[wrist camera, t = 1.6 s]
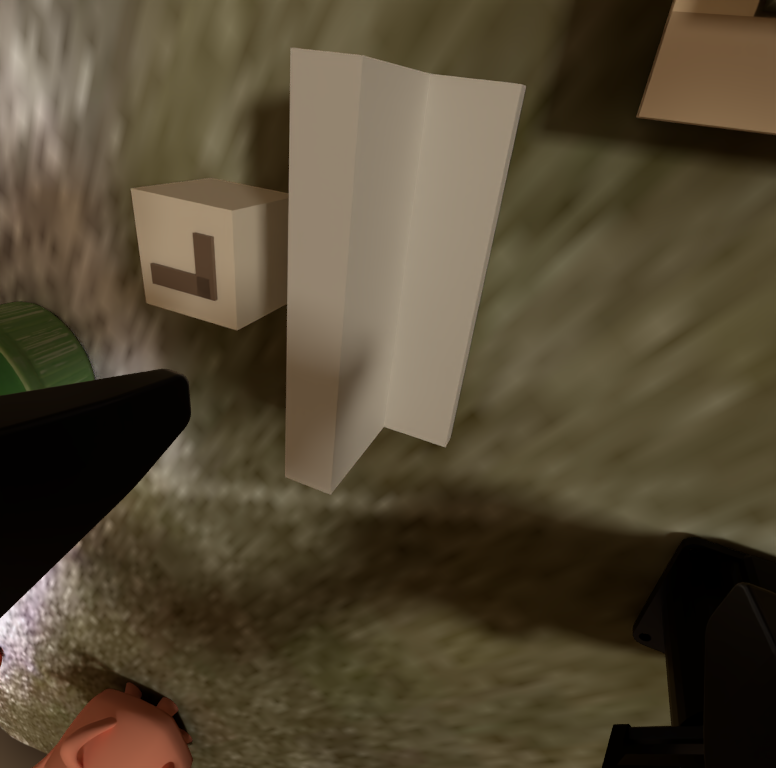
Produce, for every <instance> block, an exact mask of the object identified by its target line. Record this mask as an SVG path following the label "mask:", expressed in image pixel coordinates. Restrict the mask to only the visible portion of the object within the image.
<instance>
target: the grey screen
mask: <svg viewBox="0 0 776 768" xmlns="http://www.w3.org/2000/svg"><path fill="white" fill-rule="evenodd" d="M525 89H526V86H525V85H523V84H515V83H506V82H497V81H489V80H480V79H471V78H462V77H454V76H445V75H436V74H429V73H425V72H422V71H418V70H414V69H411V68H407V67H403V66H400V65H396V64H392V63H389V62H385V61H381V60H378V59H374V58H370V57H367V56H363V55H354V54H345V53H336V52H327V51H317V50H308V49H299V48H291V58H290V136H289V213H288V290H287V367H286V444H285V477H286V478H289V479H292V480H294V481H297V482H299V483H302V484H304V485H307V486H310V487H312V488H315V489H317V490H320V491H323V492H325V493H328V494H330V495H331V493H332V492H333V491H334V490H335V488H336V487H337V486H338V484H339V483H340V482H341V481H342V479H343V478H344V477H345V476H346V474H347V473H348V472H349V470H350V469H351V468H352V467H353V465H354V464H355V463H356V462H357V460H358V459H359V458H360V456H361V455H362V454H363V453H364V451H365V450H366V449H367V448H368V446H369V445H370V444H371V442H372V441H373V440H374V439H375V437H376V436H377V435H378V433H379V432H380V431H381V430H382V428H383V427H386V428H389V429H392V430H395V431H398V432H401V433H404V434H407V435H410V436H413V437H416V438H419V439H422V440H425V441H428V442H431V443H434V444H437V445H440V446H443V447H446V445H447V443H448V441H449V439H450V437H451V432H452V428H453V423H454V419H455V414H456V409H457V405H458V400H459V395H460V391H461V386H462V381H463V377H464V372H465V367H466V363H467V358H468V353H469V349H470V344H471V340H472V335H473V330H474V326H475V321H476V316H477V312H478V307H479V302H480V298H481V293H482V288H483V284H484V279H485V274H486V270H487V265H488V261H489V256H490V251H491V247H492V242H493V237H494V233H495V228H496V223H497V219H498V214H499V209H500V205H501V200H502V196H503V191H504V186H505V182H506V177H507V172H508V168H509V163H510V158H511V154H512V149H513V144H514V140H515V135H516V130H517V126H518V121H519V117H520V112H521V107H522V103H523V98H524V93H525Z"/></svg>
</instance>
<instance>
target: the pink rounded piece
mask: <svg viewBox="0 0 776 768" xmlns="http://www.w3.org/2000/svg"><path fill="white" fill-rule="evenodd" d="M141 696H142V693H141V691H140V690H139V689H138V688H137V687H136V686H135V685H134V684H132V683H130V682H127V684H126V688H125V693H124V692H121V691H118V690H114V689H110V688H108V689H106V690H104V691H103V692H101V693H100V694H98V695H97V696H95V697H94V698H93V699H92V700H90V702H89V703H88V704H87V705H86V706H85V707H84V708H83V710H82V711H81V712H80V713H79V714H78V716H77V717H76V718H75V720H74V721H73V722H72V724H71V725H70V726H69V728H68V729H67V730H66V732H65V733H64V735H63V736H62V738H61V739H60V741H59V743H58V744H57V745H56V746H55V747H54V748H53V749H52V750H51V751H50V752H49V754H48V755H47V756H46V757H45V758H43V759H42V760H41V761H40V762H39V763H38V764H36V765H35V766H34V767H32V768H191V765H192V762H193V758H192V755H191V753H190V750H189V748H188V746H187V744H188V743H190V742H192V738H191V736H190V735H189V734H188V733H187V732H186V731H184V730H182V729H180V728H179V727H178V725H177V723H176V722H175V720H174V719H173V717H172V716H173V715H174V714H175V713H176V712H177V711H178V707H177V706H176V704H175V703H174V702H173V701H172V700H170V699H168V698H166V697H162V699H161V700H160V702H159V703H158V705H157V706H154V705H152V704H150V703H148V702H146V701H144V700H142V699H141Z"/></svg>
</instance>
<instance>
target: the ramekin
mask: <svg viewBox="0 0 776 768" xmlns="http://www.w3.org/2000/svg"><path fill="white" fill-rule="evenodd" d="M92 380H95V377H94V373H93V370H92V367H91V364H90V361H89V359H88V357H87V355H86V353H85V351H84V349H83V347H82V346H81V344H80V343H79V341H78V340H77V338H76V337H75V335H74V334H73V333H72V332H71V331H70V329H69V328H68V327H67V326H66V325H65V324H64V323H63V322H62V321H61V320H60V319H59V318H57V317H56V316H55V315H54V314H52V313H51V312H49V311H48V310H46V309H44V308H43V307H40V306H38V305H36V304H32V303H28V302H12V303H6V304H2V305H0V396H1V395H7V394H13V393H19V392H25V391H31V390H37V389H43V388H49V387H55V386H61V385H67V384H74V383H80V382H86V381H92Z"/></svg>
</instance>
